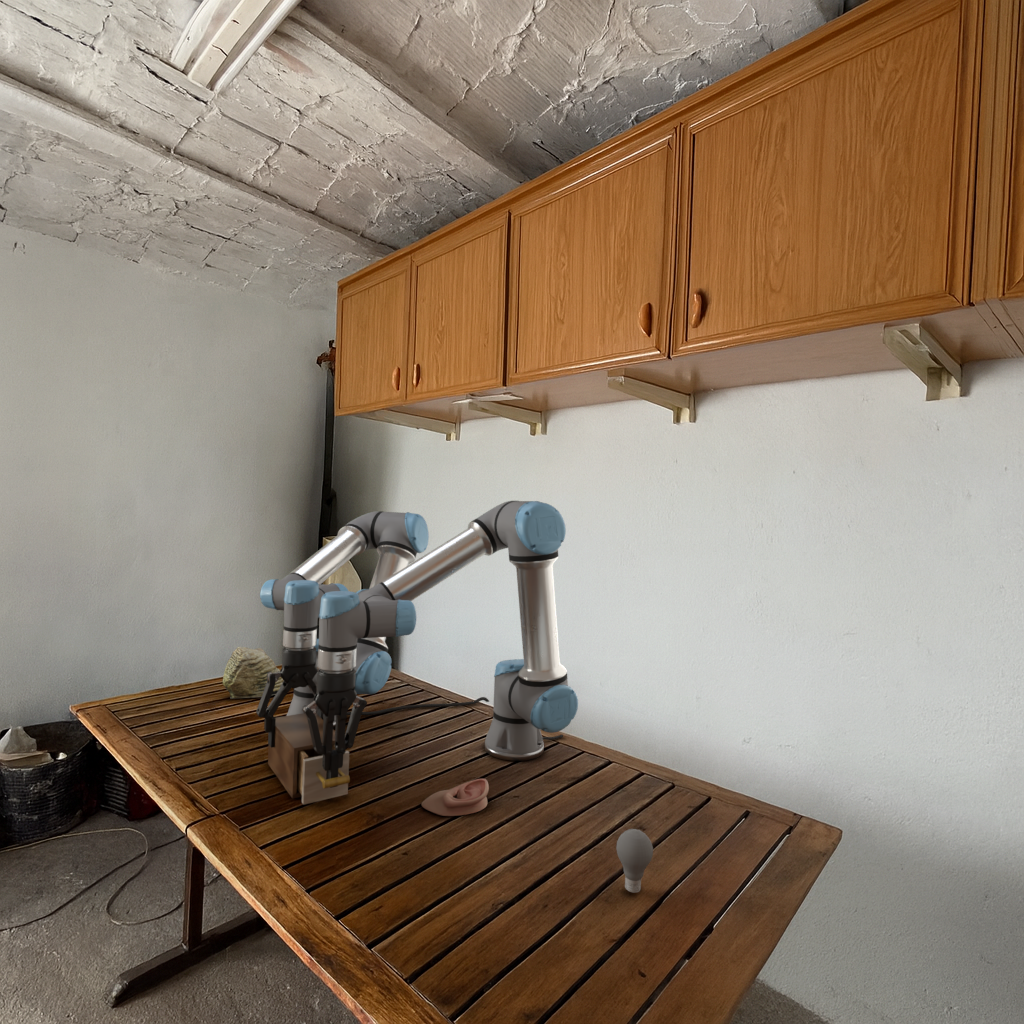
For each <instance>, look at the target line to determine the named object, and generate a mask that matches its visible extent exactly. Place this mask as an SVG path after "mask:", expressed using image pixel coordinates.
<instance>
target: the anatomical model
mask: <svg viewBox="0 0 1024 1024" xmlns="http://www.w3.org/2000/svg"><path fill="white" fill-rule="evenodd" d="M489 787H490V785H489V782H488V780H487V779H486V778H477V779H473V780H469V781H467V782H464V783H461V784H459V785H456V786H454V787H452V788H449V789H445V790H439V791H437V792H434V793H432V794H430V795H429V796H427V797H426V798H425V799H424V800H423V801H422V802H421V807H422V808H423V809H425V810H427V811H429V812H431V813H432V814H436V815H438V816H443V817H455V816H456V817H457V816H466V815H470V814H474V813H477V812H481V811H482V810H484V809H485V808H486V807H487V806H488V797H487V795H488V794H489V791H490V790H489Z"/></svg>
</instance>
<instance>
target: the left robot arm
mask: <svg viewBox="0 0 1024 1024" xmlns="http://www.w3.org/2000/svg"><path fill="white" fill-rule="evenodd" d="M429 536H430V535H429V528H428V524H427V521H426V519H425V518H424V517H423V515H421V514H419V513H414V512H409V511H407V512H396V511H383V510H376V511H370V512H367V513H364V514H362V515H360V516H358V517H356V518H354V519H352V520H350V521H348V523H346V524H344V525H343V526H342V527H341V528H340V529H339V530H338V531H337V535H336V536H335V537H333V538H332V539H331V540H330V541H329V542H327V543H326V544H325V545H324V546H322V547H321V548H319V550H317V551H316V552H314V553H313V554H312V555H311V556H309V558H307V559H306V560H305V561H303V562H302V563H301V564H300V565H298V566H297V567H295V568H294V569H293V570H292V571H291V572H289V573H288V574H287V575H285V576H284V577H283V578H281V579H280V578H279V579H278V578H275V579H268V580H266V581H265V582H264V583H263V585H262V586H261V588H260V592H259V597H260V601H261V604H262V606H263V607H265V608H267V609H273V610H276V611H283V632H282V647H284V648H283V649H282V654H281V655H282V656H281V658H282V659H281V668H280V669H279V670H280V672H274V673H272V672H268V673H267V683H266V686H265V689H264V692H263V694H262V697H260V700H259V703H258V705H257V708H256V711H255V713H256V715H257V716H258V717H259V718H264V723H263V724H264V725H263V728H264V732H265V733H266V734H267V733H268V734H267V735H268V736H267V737H268V739H267V744H268V746H269V745H270V747H271V748H272V747H275V723H276V719H275V718H276V717H275V716H274V715H275V713H276V712H277V710H278V709H279V707H280V705H281V704H282V702H283V700H284V699H285V697H286V696H287V694H288V693H289V692H290V691H291V689H293V695H292V696H293V697H292V699H291V702H290V704H289V708H288V711H287V713H286V715H285V716H289V715H296V714H302V713H304V712H303V710H302V707H303V706H304V705H307V706H308V705H309V704H310V703H312V702H313V701H314V696H315V695H316V692H317V671H318V670H319V668H318V667H317V664H318V647H319V638H318V619H319V614H320V605H321V598H322V596H323V595H324V594H325V593H327V592H332V591H349V589H348V588H347V587H346V586H345V584H342V583H339V582H338V583H333V582H332V583H328V584H323V583H324V582H325V581H326V580H328V579H329V578H330V577H331V576H332V575H333V574H335V573H336V572H337V571H338V570H339V569H340V568H342V567H343V566H344V565H345V564H346V563H347V562H348V561H350V560H351V559H352V558H353V557H354V556H359V555H361V554H363V553H365V551H369V550H376V552H377V553H378V555H379V558H378V561H377V563H376V567H375V570H374V573H373V575H372V579H371V582H370V585H369V588H368V589H370V588H372V587H374V586H375V585H377V584H379V583H381V582H382V581H384V580H386V579H387V578H389V577H390V576H392V575H394V574H395V573H397V572H398V571H400V570H402V569H403V568H405V567H407V566H408V565H410V564H411V563H413V562H415V561H416V557H417V554H422V553H424V552H425V551H426V550H427V548H428V545H429V538H430V537H429ZM386 640H387V637H376V638H358V639H357V651H356V666H355V667H354V669H355V671H356V677H355V691H356V693H357V695H375V694H376V693H378V692H379V691H381V690H382V689H383V688H384V686H385V685H386V683H387V682H388V680H389V678H390V675H391V671H392V658H391V656H390V655H391V654H389V653H388V651H389V647H388V644H387V643H386ZM279 677H281V678H282V679H283V680H284V681H283V682H282V684H281V686H280V689H279V690H278V692H277V693H276V695H274V697H273V698H272V696H273V695H272V692H273V690H274V687H275V682H277V681H278V678H279ZM271 695H272V696H271ZM271 698H272V700H271ZM473 701H474V702H473ZM481 701H484V702H486V703H489V702H490V700H489V698H488V697H486V696H481V697H479V698H477V699H474V700H472V701H464V702H463V701H462V702H447V703H425V704H424V703H423V704H411V705H409V704H408V705H400V706H394V707H388V708H385V709H384V708H383V709H379V710H374V711H362V714H361V716H377V715H381V714H384V713H389V712H394V711H401V710H409V709H422V708H423V709H424V708H447V707H448V708H449V707H461V706H462V707H464V706H473V705H476V704H478V703H480V702H481ZM316 711H317V712H316V714H317V715H318V716H319V717H321V718H322V719H323V713H322V712H321V710H320V709H319V708H318V706H317V707H316ZM350 715H351V711H347V716H350ZM335 727H336V716H334V722H333V729H335Z"/></svg>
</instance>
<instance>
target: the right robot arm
mask: <svg viewBox="0 0 1024 1024" xmlns="http://www.w3.org/2000/svg"><path fill="white" fill-rule="evenodd" d="M566 530H567V529H566V523H565V519H564V517H563V515H562V514H561V512H560V511H559V510H558V509H557V508H556V507H554V506H553V505H552V504H549V503H547V502H542V501H538V500H507V501H504V502H502V503H500V504H498V505H496V506H494V507H493V508H490V509H488V511H487V510H486V512H484V513H482V514H481V515H479V516H478V517H476V518H475V519H472V520H471V521H470V522H468V524H467V528H466V529H465V530H463V531H462V532H460V533H458V534H457V535H455V536H453V537H452V538H450V539H449V540H447V541H445V542H444V543H442V544H441V545H439V546H437V547H436V548H434V549H432V550H430V551H429V552H427V553H426V554H424V555H423V556H421V557H420V558H418V559H415V561H414V562H412V563H410V564H408V566H407V567H405V568H403V569H402V570H400V571H398V572H397V573H395V574H394V575H392V576H390V577H389V578H387V579H386V580H384V581H382V582H381V583H379V584H377V585H375V586H374V587H372V588H370V587H369V588H370V589H369V588H363V589H359V590H357V591H349V590H348V591H332V592H327V593H325V594H324V595H323V596H322V598H321V605H320V614H319V618H318V619H319V621H318V625H319V626H318V639H319V647H318V664H317V667H318V668H319V670H318V671H317V692H316V695H315V696H314V701H313V702H312V703H310V704H309V705H308V706H307V705H304V706H303V707H302V710H303V712H304V713H305V715H306V716H307V720H308V725H309V729H310V734H311V739H312V743H313V748H314V750H315V751H316V752H317V753H318V754H323V761H322V767H323V769H324V770H325V771H327V773H326V780H327V779H331V778H336V777H338V768H342V766H343V754H345V752H346V751H347V750H348V749H352V748H353V747H354V743H355V739H356V736H357V733H358V729H359V725H360V721H361V717H362V715H361V714H362V712H364V710H365V708H366V706H367V705H368V701H367V700H366V699H365V698H363V697H360V696H358V694H357V693H356V691H355V677H356V671H355V669H354V667H355V666H356V651H357V639H358V638H376V637H386V638H392V637H393V638H394V637H396V638H399V637H404V636H409V635H412V634H413V633H414V631H415V629H416V626H417V610H416V606H415V604H414V602H413V601H414V600H415V599H417V598H419V597H420V596H422V595H423V594H424V593H426V592H428V591H430V590H431V589H433V588H434V587H436V586H437V585H439V584H440V583H442V582H443V581H445V580H447V579H448V578H450V577H452V576H453V575H454V574H457V573H458V572H459V571H461V570H462V569H464V568H466V567H467V566H468V565H470V564H472V563H473V562H476V560H478V559H479V558H481V557H483V556H487V557H490V556H492V555H493V554H495V553H496V552H500V551H502V550H505V549H508V561H509V562H510V563H511V564H512V565H513V566H514V567H515V569H516V581H517V594H518V607H519V619H520V632H521V633H520V634H521V643H522V645H521V646H522V656H523V658H522V659H521V658H517V659H505V660H501V661H498V663H496V665H495V669H494V676H493V678H494V683H493V686H494V687H493V688H494V689H493V708H492V709H493V710H492V711H493V713H492V720H491V723H490V726H489V729H488V731H487V734H486V737H485V740H484V750H485V752H486V753H487V754H488V755H490V756H492V757H493V758H496V759H500V760H503V761H510V762H522V761H531V760H534V759H537V758H539V757H540V756H542V755H543V754H544V752H545V743H544V741H555V740H558V739H562V738H564V734H559V735H556V736H543V735H542V731H543V732H545V733H548V734H553V733H557V732H560V731H562V730H564V729H566V728H567V727H569V726H570V724H571V723H572V720H574V719H575V717H576V715H577V712H578V708H579V698H578V695H577V692H576V691H575V690H574V689H573V687H571V686H570V685H569V679H568V670H567V668H566V667H565V665H563V664H562V663H561V659H560V647H559V633H558V632H559V631H558V617H557V606H556V591H555V578H554V564H555V562H556V561H557V560H558V559H559V549H560V548H561V547H562V544H563V542H564V541H565V538H566ZM317 706H318V708H319V709H320V710H321V712H322V713H323V741H322V742H321V737H320V733H319V728H318V723H317V719H316V716H315V714H316V712H317V711H316V707H317ZM351 707H352V708H351ZM350 709H351V711H350V712H351V715H349V720H348V722H347V728H346V720H347V718H348V715H347V712H349V710H350ZM334 716H336V727H335V728H333V722H334ZM334 729H335V730H334ZM333 730H334V731H335V750H332V739H333ZM333 787H337V786H333ZM330 788H332V787H330Z"/></svg>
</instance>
